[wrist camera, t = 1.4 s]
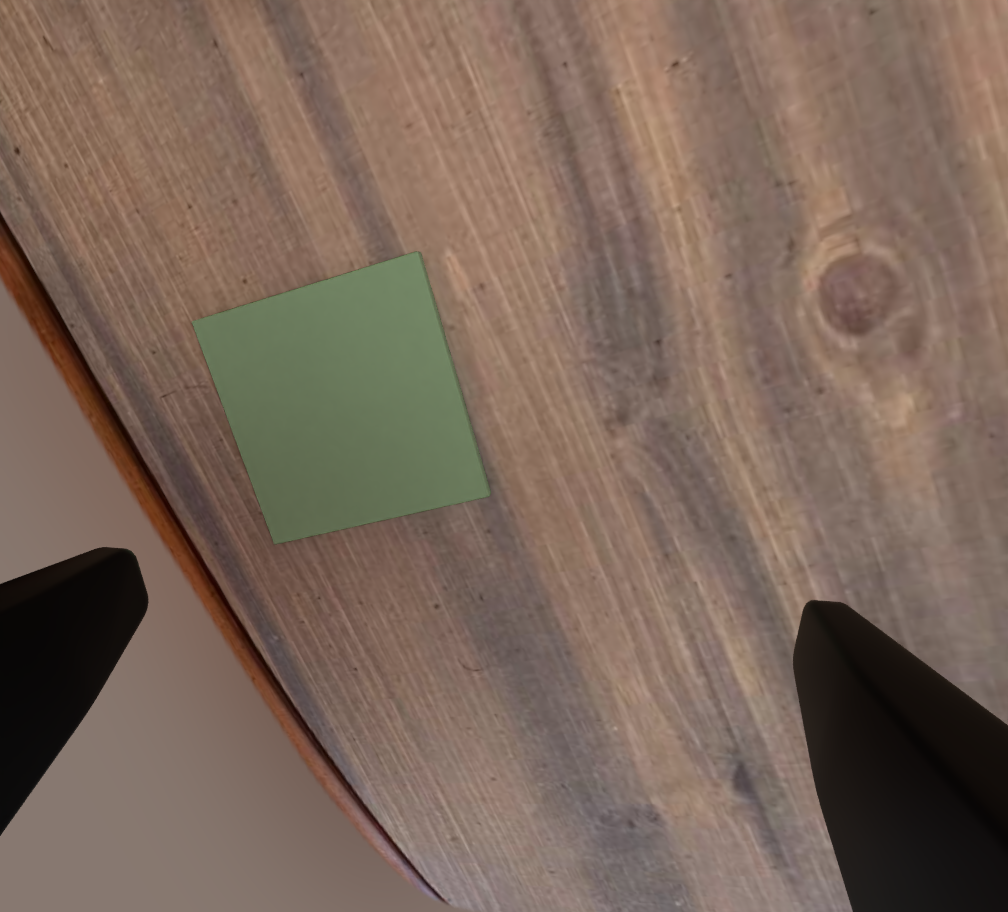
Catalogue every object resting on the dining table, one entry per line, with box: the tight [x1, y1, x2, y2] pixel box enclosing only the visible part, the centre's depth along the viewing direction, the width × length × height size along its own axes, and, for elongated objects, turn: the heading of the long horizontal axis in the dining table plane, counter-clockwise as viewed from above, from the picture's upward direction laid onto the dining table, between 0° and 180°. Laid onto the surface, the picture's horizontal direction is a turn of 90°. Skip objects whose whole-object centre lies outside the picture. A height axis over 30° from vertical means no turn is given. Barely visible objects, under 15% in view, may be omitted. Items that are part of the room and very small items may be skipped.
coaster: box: [192, 251, 491, 544], centre depth 22 cm, size 8×8×1 cm
